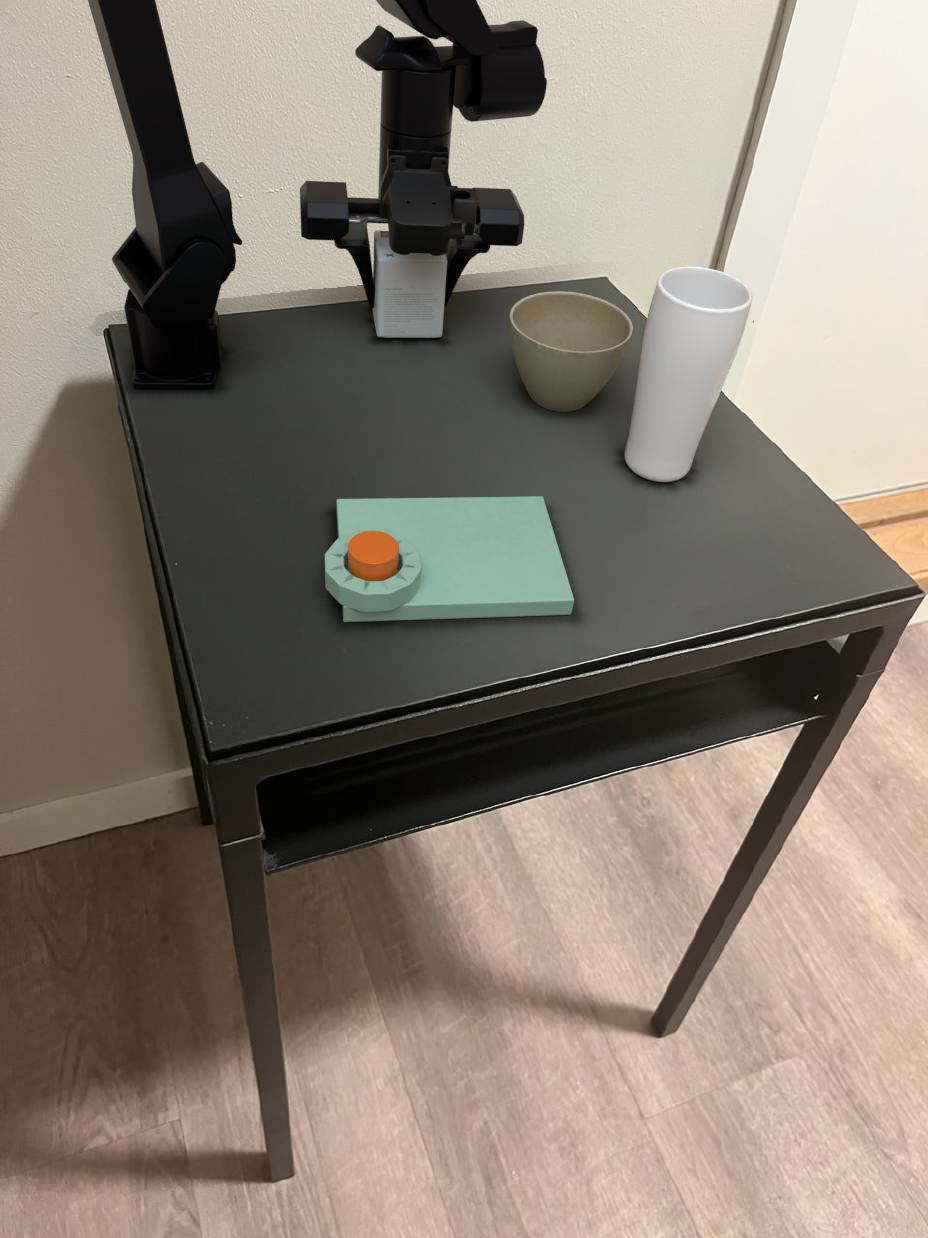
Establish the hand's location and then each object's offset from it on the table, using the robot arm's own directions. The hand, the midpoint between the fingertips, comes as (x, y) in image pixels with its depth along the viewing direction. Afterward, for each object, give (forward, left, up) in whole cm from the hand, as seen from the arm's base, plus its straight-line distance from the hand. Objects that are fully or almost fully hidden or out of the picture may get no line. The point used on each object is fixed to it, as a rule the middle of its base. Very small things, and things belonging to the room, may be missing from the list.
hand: (406, 306), depth 88 cm
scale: (0, -33, -2) cm, 33 cm away
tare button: (-5, -36, +1) cm, 36 cm away
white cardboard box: (0, 0, -2) cm, 2 cm away
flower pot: (+12, -12, -2) cm, 17 cm away
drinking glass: (+18, -22, -2) cm, 28 cm away
